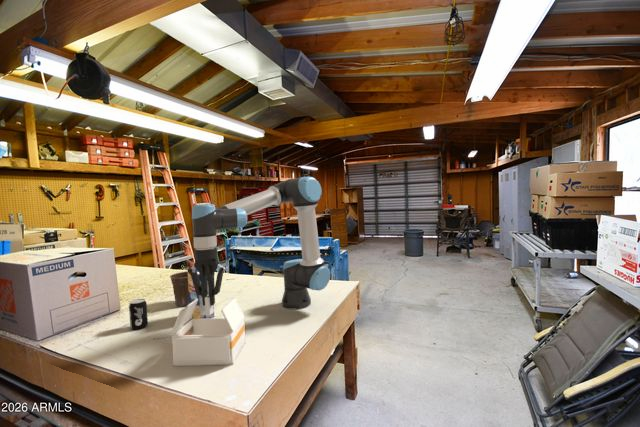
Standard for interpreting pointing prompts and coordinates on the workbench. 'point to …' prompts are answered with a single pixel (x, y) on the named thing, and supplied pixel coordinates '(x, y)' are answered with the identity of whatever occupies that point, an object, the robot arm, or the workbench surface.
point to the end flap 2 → (233, 314)
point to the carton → (207, 343)
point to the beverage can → (138, 314)
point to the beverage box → (199, 309)
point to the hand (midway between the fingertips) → (209, 314)
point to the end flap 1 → (185, 315)
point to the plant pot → (180, 288)
